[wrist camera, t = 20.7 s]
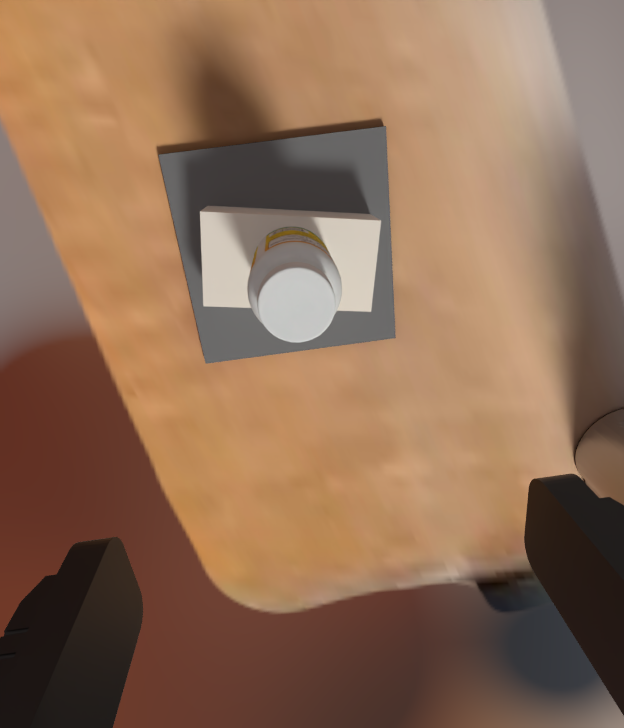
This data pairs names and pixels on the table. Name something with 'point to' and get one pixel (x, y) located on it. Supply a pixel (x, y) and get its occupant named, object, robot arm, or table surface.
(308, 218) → the riser block
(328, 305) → the supplement bottle
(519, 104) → the table surface
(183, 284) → the table surface
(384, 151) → the mat
